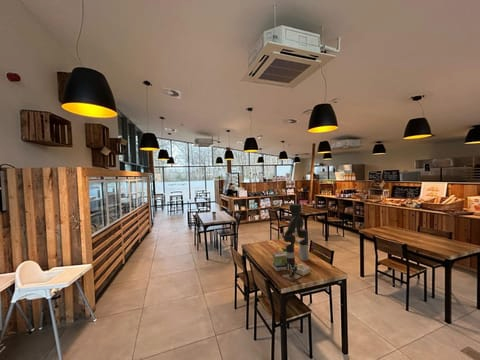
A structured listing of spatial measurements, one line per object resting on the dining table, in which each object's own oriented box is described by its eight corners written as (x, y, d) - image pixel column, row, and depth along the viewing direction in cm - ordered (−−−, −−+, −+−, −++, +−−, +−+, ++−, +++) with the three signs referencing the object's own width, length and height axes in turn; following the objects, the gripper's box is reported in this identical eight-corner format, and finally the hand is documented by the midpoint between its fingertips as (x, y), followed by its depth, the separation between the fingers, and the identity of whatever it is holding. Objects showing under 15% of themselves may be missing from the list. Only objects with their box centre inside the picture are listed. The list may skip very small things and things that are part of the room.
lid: (281, 276, 186) (281, 269, 186) (290, 272, 194) (290, 265, 194) (292, 281, 176) (292, 274, 176) (301, 277, 184) (301, 269, 184)
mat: (279, 277, 186) (279, 276, 186) (290, 272, 195) (290, 271, 195) (292, 283, 174) (292, 283, 174) (303, 277, 183) (303, 277, 183)
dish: (293, 272, 195) (293, 267, 195) (300, 268, 201) (300, 263, 201) (303, 276, 186) (302, 271, 186) (310, 272, 193) (309, 267, 193)
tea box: (276, 271, 198) (275, 256, 198) (273, 267, 208) (272, 253, 208) (290, 269, 201) (290, 254, 201) (286, 265, 211) (285, 251, 211)
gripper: (281, 255, 188) (282, 273, 188) (294, 259, 177) (295, 279, 177) (287, 253, 193) (288, 271, 193) (299, 257, 181) (300, 276, 181)
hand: (291, 274), depth 185 cm, fingers closed on lid, 3 cm apart
